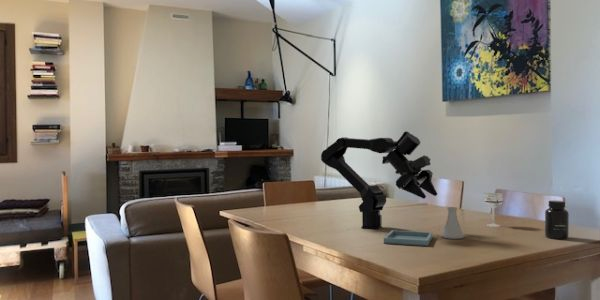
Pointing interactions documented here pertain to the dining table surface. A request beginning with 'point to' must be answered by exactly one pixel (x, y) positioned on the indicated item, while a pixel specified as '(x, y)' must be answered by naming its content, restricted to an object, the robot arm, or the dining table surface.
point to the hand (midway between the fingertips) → (430, 196)
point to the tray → (408, 238)
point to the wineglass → (493, 203)
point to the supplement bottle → (556, 220)
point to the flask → (452, 225)
